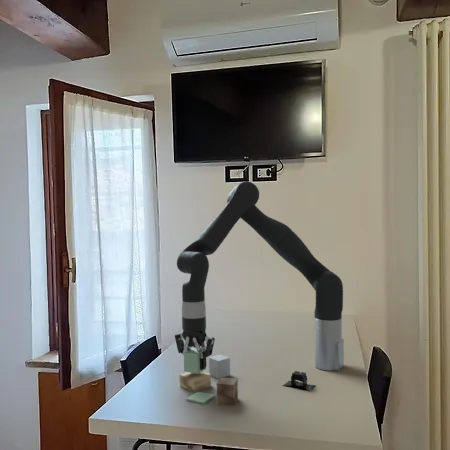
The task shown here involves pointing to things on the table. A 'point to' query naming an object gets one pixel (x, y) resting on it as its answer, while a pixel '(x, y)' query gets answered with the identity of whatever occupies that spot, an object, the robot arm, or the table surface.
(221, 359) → the grey block
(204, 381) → the maple base
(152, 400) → the table surface
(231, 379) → the walnut block
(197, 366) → the green block
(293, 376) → the black piece
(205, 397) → the tile
